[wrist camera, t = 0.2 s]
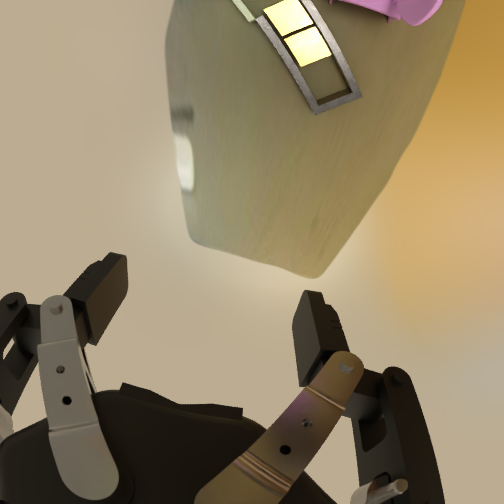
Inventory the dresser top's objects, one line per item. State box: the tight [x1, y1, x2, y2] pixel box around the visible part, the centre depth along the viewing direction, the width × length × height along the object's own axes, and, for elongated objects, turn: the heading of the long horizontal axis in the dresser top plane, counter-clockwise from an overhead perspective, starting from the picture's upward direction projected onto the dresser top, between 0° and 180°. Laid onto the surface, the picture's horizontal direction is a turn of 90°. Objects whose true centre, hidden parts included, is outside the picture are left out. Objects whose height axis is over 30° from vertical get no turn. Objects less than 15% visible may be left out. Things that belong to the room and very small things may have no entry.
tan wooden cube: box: [283, 27, 331, 67], centre depth 25 cm, size 4×4×4 cm
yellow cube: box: [264, 0, 313, 36], centre depth 22 cm, size 4×4×4 cm
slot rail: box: [256, 0, 363, 115], centre depth 26 cm, size 15×7×2 cm, turn 31°
